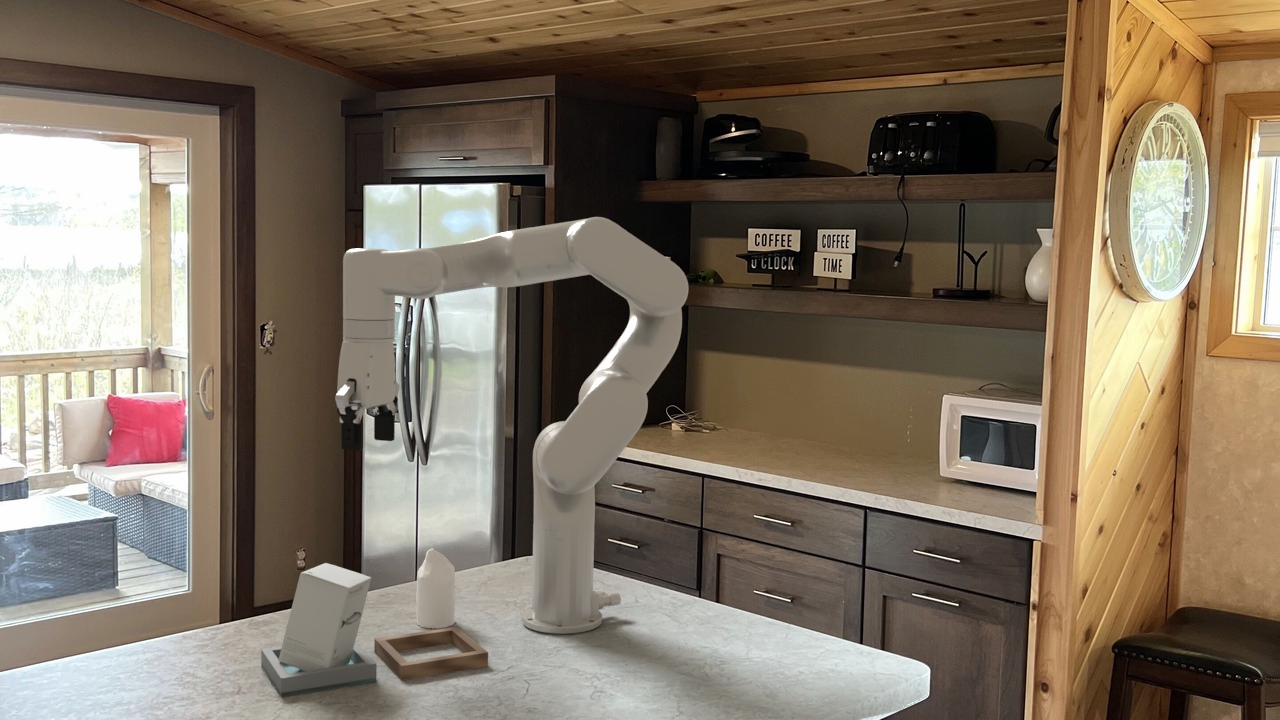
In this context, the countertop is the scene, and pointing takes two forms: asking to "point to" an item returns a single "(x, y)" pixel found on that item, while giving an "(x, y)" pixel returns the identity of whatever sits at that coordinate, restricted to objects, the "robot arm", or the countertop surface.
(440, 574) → the white rounded piece
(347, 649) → the supplement box
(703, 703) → the countertop surface
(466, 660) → the wooden picture frame
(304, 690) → the dock
